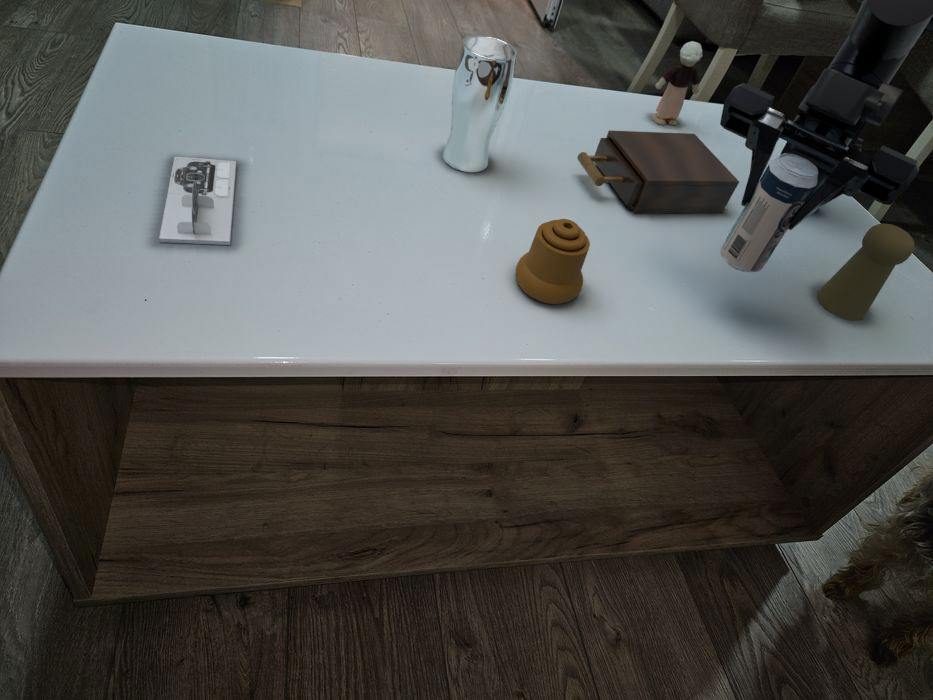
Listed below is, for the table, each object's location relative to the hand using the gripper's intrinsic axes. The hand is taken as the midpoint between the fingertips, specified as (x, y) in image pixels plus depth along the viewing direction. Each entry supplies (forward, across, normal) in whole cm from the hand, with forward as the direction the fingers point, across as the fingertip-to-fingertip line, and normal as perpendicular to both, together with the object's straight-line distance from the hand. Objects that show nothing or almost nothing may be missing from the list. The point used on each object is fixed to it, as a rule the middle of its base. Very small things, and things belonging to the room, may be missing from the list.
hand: (765, 216), depth 69 cm
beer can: (+4, 0, +6) cm, 7 cm away
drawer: (-3, -18, +21) cm, 28 cm away
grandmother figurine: (-19, -24, +39) cm, 49 cm away
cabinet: (-5, -15, +24) cm, 29 cm away
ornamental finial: (+17, -16, +2) cm, 23 cm away
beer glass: (+8, -37, +12) cm, 39 cm away
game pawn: (-1, +12, +21) cm, 24 cm away
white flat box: (+30, -50, -11) cm, 59 cm away
